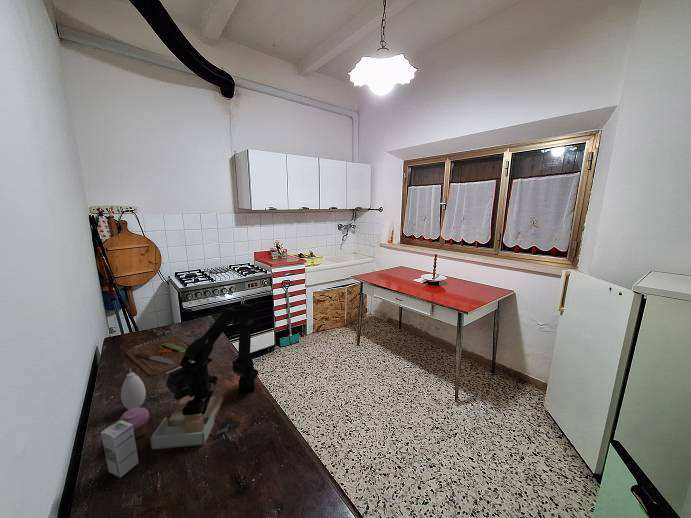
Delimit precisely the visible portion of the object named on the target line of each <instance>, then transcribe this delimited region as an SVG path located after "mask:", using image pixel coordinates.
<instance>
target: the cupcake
mask: <svg viewBox="0 0 691 518" xmlns="http://www.w3.org/2000/svg"><path fill="white" fill-rule="evenodd" d="M149 418H150V412H149V410H148V409H147V408H145V407H139V408H132V409H130V410H129V409H127V410H126V411H125V412H124V413H122V415H121V416H120V418H119V420H123V421H125V422H128V423H130V424H132V425H133V431H134V437H135V440H137V439H139V438H140V437H142V436H144V435H146V433H147V422H148V421H149Z"/></svg>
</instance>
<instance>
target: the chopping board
mask: <svg viewBox="0 0 691 518" xmlns="http://www.w3.org/2000/svg"><path fill="white" fill-rule="evenodd" d="M170 337H171V338H170ZM173 337H175V338H177V339H178V340H180V341H182V342H183V343H184V344H186V345H187V346H189V345H191V344H192V343H190V342H189V341H187V340H185V339H183V338H181V337H180V336H178V335H169V336H167V337H165V338H163V337H162V338H163V339H160V338H158V339H160V340H158V339H155V340H157V341H155V340H151V341H148V342H145V343H141V344H139V345H136V346H134V347H132V348H130V349H128V350H126V351H125V355H126V356H128V357H129V359H131V361H133V362H134V363H135V364H136V365H137V366H138V368H140V369H141V370H142V371H144V373H146V374H147V375H148V376H149V377H153V376H159V375H161V374H165V375H169V374H170V373H172V372H174V371H177V370H179V369H181V368H182V366H180V363H181V361H182V359H183V357H184V355H185V353H186V352H185V351H186V349H187V348H188V347H187V346H186V345H184V344H182V343H181V342H179V341H178V340H176V339H174V338H173ZM167 338H168V339H167ZM164 339H165V340H164ZM152 341H154V342H152ZM149 342H151V343H149ZM146 343H147V344H146ZM143 344H144V345H143ZM188 362H191V363H194V362H195V361H192V360H189V361H188Z"/></svg>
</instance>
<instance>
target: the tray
mask: <svg viewBox="0 0 691 518" xmlns="http://www.w3.org/2000/svg"><path fill="white" fill-rule="evenodd" d="M214 425H215V420H214V415H213V413H212V414H211V416H210V418H209V420H208V422H207V423H204V429H203V431H202V432H198V433H186V431H185V425H179V426H169V425H168V417H167V416H165V417H164V418H163V419H162V421H161V422H160V423H159V425H158V426H157V428H156V429H155V431H154V432H153V434H152V435H151V436H150V438H149V439H150V445H151V450H152V451H153V450H161V449H172V448H184V447H192V446H193V447H194V446H203V445H204V446H205V445H206V443H207V440H208V438H209V437H210V434H211V431H212V429H213V428H214Z"/></svg>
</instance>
